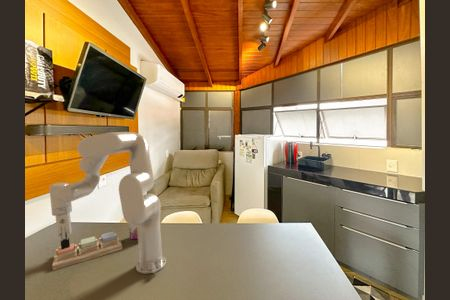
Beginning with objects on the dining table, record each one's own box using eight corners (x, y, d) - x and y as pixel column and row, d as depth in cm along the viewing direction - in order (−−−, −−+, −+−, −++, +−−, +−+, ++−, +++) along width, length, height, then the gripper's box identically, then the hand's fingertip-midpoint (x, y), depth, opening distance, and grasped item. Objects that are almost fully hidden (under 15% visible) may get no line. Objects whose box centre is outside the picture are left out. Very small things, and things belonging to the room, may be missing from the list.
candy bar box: (129, 239, 122) (127, 210, 121) (134, 235, 127) (132, 207, 126) (149, 240, 121) (147, 210, 120) (152, 235, 126) (150, 207, 125)
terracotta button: (74, 254, 104) (73, 248, 104) (58, 258, 101) (57, 252, 101) (74, 248, 109) (73, 243, 109) (59, 253, 106) (58, 247, 105)
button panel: (122, 249, 112) (121, 240, 112) (52, 270, 97) (51, 260, 96) (117, 238, 124) (117, 231, 123) (55, 256, 108) (54, 247, 108)
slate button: (116, 240, 114) (115, 235, 114) (103, 244, 111) (102, 238, 111) (114, 236, 119) (114, 231, 119) (101, 240, 116) (101, 234, 115)
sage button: (96, 246, 109) (95, 240, 109) (81, 250, 106) (81, 244, 106) (95, 241, 114) (94, 236, 114) (81, 245, 111) (80, 239, 110)
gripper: (71, 212, 99) (75, 251, 101) (71, 204, 111) (75, 239, 113) (50, 216, 95) (54, 257, 96) (53, 207, 107) (56, 243, 109)
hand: (65, 247), depth 105 cm, fingers closed
